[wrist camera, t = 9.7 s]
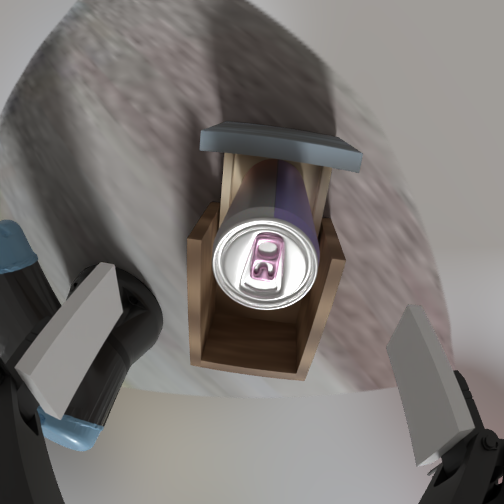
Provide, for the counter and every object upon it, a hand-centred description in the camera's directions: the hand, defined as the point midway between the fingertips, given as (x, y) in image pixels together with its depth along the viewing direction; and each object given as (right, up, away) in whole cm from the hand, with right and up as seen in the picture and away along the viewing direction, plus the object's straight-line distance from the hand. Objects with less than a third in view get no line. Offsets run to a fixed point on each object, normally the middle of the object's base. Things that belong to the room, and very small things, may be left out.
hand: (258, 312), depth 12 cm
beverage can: (+2, +9, +16) cm, 19 cm away
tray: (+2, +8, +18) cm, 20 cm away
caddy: (+1, 0, +23) cm, 23 cm away
